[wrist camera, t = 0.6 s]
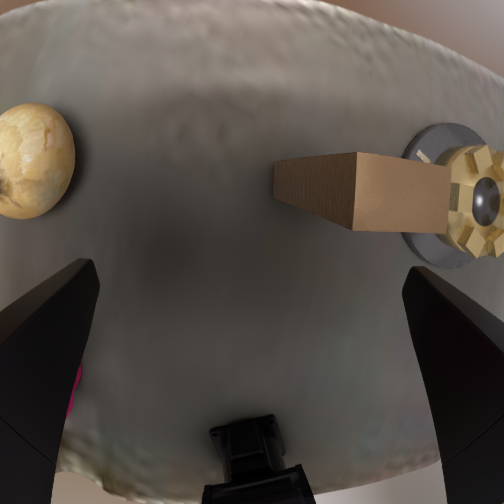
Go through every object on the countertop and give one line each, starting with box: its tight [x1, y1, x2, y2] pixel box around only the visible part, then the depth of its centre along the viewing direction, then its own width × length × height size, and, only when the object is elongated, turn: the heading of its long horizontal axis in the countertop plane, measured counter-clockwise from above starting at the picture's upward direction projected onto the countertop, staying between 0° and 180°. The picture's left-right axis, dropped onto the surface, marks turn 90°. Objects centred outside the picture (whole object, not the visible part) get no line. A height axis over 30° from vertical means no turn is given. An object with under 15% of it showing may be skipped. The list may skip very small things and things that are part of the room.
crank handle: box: [273, 145, 504, 258], centre depth 17 cm, size 22×9×12 cm, turn 88°
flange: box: [402, 123, 486, 269], centre depth 24 cm, size 13×13×2 cm
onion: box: [0, 103, 75, 219], centre depth 16 cm, size 8×8×7 cm
